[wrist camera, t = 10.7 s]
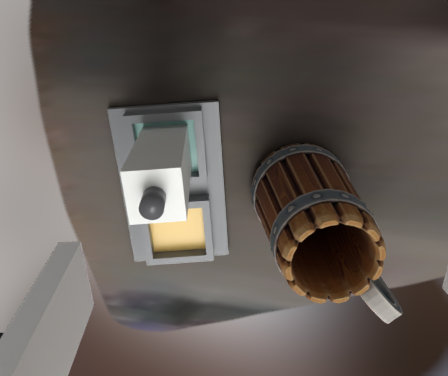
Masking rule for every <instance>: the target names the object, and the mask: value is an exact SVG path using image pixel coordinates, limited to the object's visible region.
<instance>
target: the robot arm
mask: <svg viewBox="0 0 448 376" xmlns="http://www.w3.org/2000/svg"><path fill="white" fill-rule="evenodd" d="M442 288H443V289H444V290H445V291H446V293H447V294H448V267H447V271H446V275H445V279H444V283H443V287H442ZM93 306H94V302H93V297H92V292H91V287H90V282H89V278H88V273H87V268H86V263H85V258H84V254H83V249H82V244H81V242H59V243H58V244H57V246H56V248H55V249H54V251H53V252H52V254H51V256H50V258H49V260H48V261H47V263H46V264H45V266H44V267H43V269H42V271H41V273H40V274H39V276H38V277H37V279H36V281H35V282H34V284H33V286H32V287H31V289H30V291H29V292H28V294H27V296H26V298H25V299H24V301H23V302H22V304H21V305H20V307H19V309H18V310H17V312H16V314H15V315H14V317H13V319H12V321H11V322H10V324H9V325H8V327H7V329H6V331H5V332H4V333H0V376H68V374H69V371H70V368H71V366H72V363H73V360H74V358H75V355H76V352H77V349H78V347H79V344H80V341H81V339H82V336H83V333H84V330H85V328H86V325H87V322H88V320H89V317H90V314H91V311H92V309H93Z"/></svg>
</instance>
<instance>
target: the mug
mask: <svg viewBox="0 0 448 376" xmlns="http://www.w3.org/2000/svg"><path fill="white" fill-rule="evenodd" d="M261 164H262V165H261V166H260V167H259V168H257V170H256V172H255V174H254V176H253V180H252V187H251V198H252V204H253V206H254V209H255V211H256V214H257V216H258V218H259V220H260V222H261V223H262V224H263V227H264V229H265V232H266V234H267V237H268V239H269V241H270V247H271V251H272V253H273V256H274V258H275V261H276V263H277V266H278V268H279V271H280V272H281V273H282V274H283V275H284V278H285V279H286V280H287V282H288V284H289V286H290V287H291V288H292V289H293V290H294V291H295V292H296V293H298V294H299V295H300V296H305V295H306V298H308V299H309V300H311V301H313V302H317V303H324V302H326V301H327V298H328V299H329V300H330V301H332V302H335V303H341V302H345V301H347V300H348V299H349V298H350V294H351V293H352V294H354V295H360V296H361V297H362V298H363V300H364V301H365V302H366V303H367V305H368V306H369V307H370V308H371V309H372V310H373V311H374V313H375V314H376V315H377V316H378V317H379V318H380V319H382V320H383V321H384V322H385V323H390V322H391V321H393V320H394V319H396V318H397V317H399V316H400V315H402V314H403V312H402V309H401V307H400V305H399V304H398V302H397V300H396V299H395V297H394V296H393V294H392V293H391V291H390V290H389V288H388V287H387V285H386V284H385V282H384V281H383V280H382V278H381V277H380V275H381V273H382V271H383V265H384V263H383V260H384V259H385V257H386V247H385V243H384V240H383V238H382V237H381V233H380V230H379V227H378V224H377V222H376V220H375V219H374V217H373V215H372V214H371V212H370V210H369V209H368V207H367V206H366V204H365V203H364V202H362V201H361V199H360V197H359V196H358V194H357V192H356V191H355V189H354V187H353V185H352V184H351V182H350V178H349V175H348V173H347V172H346V170H345V168H344V167H343V165H342V164H341V162H340V161H339V159H338V158H337V157H335V156H334V155H333V154H332V153H331V152H329V151H328V150H325V149H323V148H322V147H320V146H317V145H314V144H308V143H306V144H303V145H300V144H299V143H296V144H290V145H287V146H284V147H281V148H280V150H279V151H273V152H272V153H271V154H269V155H268V156H267V157H266V158H265V159H264V160H263V161H262V162H261Z"/></svg>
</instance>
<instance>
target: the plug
mask: <svg viewBox="0 0 448 376" xmlns="http://www.w3.org/2000/svg"><path fill="white" fill-rule="evenodd" d="M191 168H192V163H191V153H190V143H189V133H188V124H177V125H163V126H148V127H143V128H142V129H141V131H140V133H139V135H138V137H137V139H136V141H135V143H134V145H133V147H132V149H131V151H130V153H129V155H128V157H127V159H126V161H125V163H124V165H123V167H122V169H121V171H120V175H121V180H122V186H123V191H124V197H125V203H126V208H127V214H128V219H129V225H136V224H150V223H164V222H178V221H187V214H188V202H189V191H190V180H191Z"/></svg>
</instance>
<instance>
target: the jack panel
mask: <svg viewBox="0 0 448 376" xmlns="http://www.w3.org/2000/svg"><path fill="white" fill-rule="evenodd" d="M107 111H108V116H109V122H110V127H111V133H112V138H113V144H114V149H115V155H116V161H117V166H118V172H119V177H120V183H121V188H122V194H123V199H124V205H125V210H126V216H127V221H128V227H129V233H130V238H131V244H132V249H133V255H134V260H135V261H146V263H147V266H148V265H162V264H175V263H189V262H202V261H214V256H216V255H229V254H228V239H227V224H226V209H225V194H224V179H223V164H222V149H221V134H220V119H219V104H218V100H211V101H197V102H182V103H168V104H154V105H139V106H125V107H110V108H108V109H107ZM177 124H188V133H189V143H190V153H191V163H192V168H191V180H190V191H189V202H188V214H187V221H178V222H164V223H150V224H136V225H129V219H128V214H127V208H126V203H125V197H124V191H123V186H122V180H121V175H120V171H121V169H122V167H123V165H124V163H125V161H126V159H127V157H128V155H129V153H130V151H131V149H132V147H133V145H134V143H135V141H136V139H137V137H138V135H139V133H140V131H141V129H142V128H143V127H148V126H163V125H177Z"/></svg>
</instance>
